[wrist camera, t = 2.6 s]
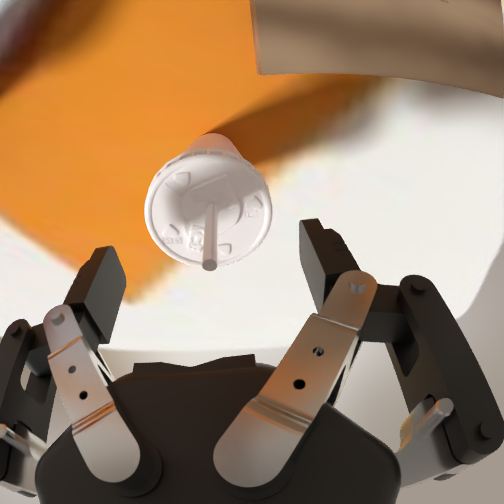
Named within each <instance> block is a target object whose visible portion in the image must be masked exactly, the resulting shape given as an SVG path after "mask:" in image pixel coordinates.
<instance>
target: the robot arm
mask: <svg viewBox="0 0 504 504" xmlns="http://www.w3.org/2000/svg"><path fill="white" fill-rule="evenodd" d="M299 252H300V261H301V265H302V268H303V271H304V274H305V277H306V280H307V282H308V285H309V288H310V291H311V294H312V297H313V300H314V303H315V306H316V309H317V312H318V314H316V313H312V314H311V315H310V317H309V318H308V320H307V321H306V323H305V325H304V326H303V328H302V329H301V331H300V332H299V334H298V336H297V337H296V339H295V340H294V342H293V343H292V345H291V347H290V348H289V350H288V351H287V353H286V354H285V356H284V357H283V359H282V360H281V362H280V364H279V365H278V366H277V367H274V366H271V365H268V364H263V363H256V361H255V355H254V354H250V355H241V356H232V357H223V358H220V359H217V360H213V361H210V362H207V363H204V364H200V365H197V366H193V367H187V366H181V365H174V364H169V363H163V362H155V363H134V367H133V372H132V373H129V374H126V375H124V376H122V377H120V378H118V379H117V380H115V378H114V377H113V375H112V373H111V371H110V370H109V368H108V366H107V364H106V362H105V361H104V359H103V357H102V355H101V353H100V352H99V350H98V349H97V348H98V345H99V344H109V342H110V338H111V335H112V331H113V328H114V324H115V321H116V317H117V314H118V310H119V307H120V304H121V301H122V297H123V294H124V291H125V288H126V276H125V273H124V270H123V268H122V266H121V263H120V261H119V258H118V256H117V253H116V251H115V249H114V247H113V246H106V247H100V248H96V249H95V251H94V252H93V254H92V256H91V258H90V260H88V261H87V262H86V263H85V264H84V265H83V266H82V267H81V268H80V270H79V272H78V274H77V276H76V278H75V280H74V282H73V284H72V286H71V288H70V290H69V292H68V294H67V296H66V298H65V300H64V302H63V305H58V306H56V307H54V308H53V309H51V310H50V311H49V312H48V313H47V314H46V316H45V318H44V320H43V323H42V324H39V325H36V326H33V327H31V326H30V325H29V323H28V322H27V321H26V320H25V319H19V320H16V321H15V322H13V323H12V324H11V325H10V326H9V327H8V328H7V330H6V332H5V334H4V336H3V338H2V341H1V343H0V485H1V486H3V487H5V488H7V489H9V490H11V491H14V492H18V493H20V494H23V495H25V496H27V497H35V496H37V495H38V497H39V500H40V504H395V502H396V499H397V495H398V493H399V491H400V490H403V489H406V488H409V487H412V486H415V485H418V484H421V483H423V482H426V481H428V480H431V479H434V480H446V479H448V478H450V477H452V476H454V475H456V474H458V473H459V472H461V471H463V470H465V469H467V468H468V467H470V466H472V465H473V464H475V463H477V462H478V461H480V460H482V459H483V458H485V457H487V456H488V455H490V454H491V453H493V452H494V451H495V450H497V449H498V448H499V447H500V446H501V444H502V442H503V440H504V420H503V418H502V415H501V413H500V410H499V408H498V406H497V403H496V401H495V398H494V396H493V394H492V392H491V389H490V387H489V385H488V382H487V380H486V378H485V376H484V374H483V372H482V370H481V368H480V366H479V363H478V361H477V360H476V357H475V355H474V353H473V352H472V350H471V348H470V346H469V344H468V342H467V340H466V338H465V336H464V335H463V333H462V331H461V329H460V327H459V326H458V324H457V322H456V320H455V319H454V317H453V315H452V313H451V312H450V310H449V308H448V307H447V305H446V303H445V302H444V300H443V298H442V297H441V295H440V293H439V292H438V290H437V289H436V287H435V285H434V284H433V283H432V282H431V281H430V280H429V279H427V278H425V277H423V276H420V275H409V276H406V277H404V278H403V279H402V280H401V282H400V285H399V286H392V285H381V284H377V282H376V280H375V279H374V277H373V276H371V275H370V274H368V273H366V272H363V271H361V270H360V268H359V266H358V265H357V263H356V261H355V259H354V258H353V256H352V254H351V252H350V251H349V250H348V247H347V245H346V244H345V242H344V240H343V239H342V237H341V235H340V234H338V233H337V232H336V231H334V230H333V229H324V228H323V226H322V225H321V223H320V221H319V219H318V218H315V219H307V220H300V222H299ZM363 341H367V342H382V343H383V342H384V343H385V344H386V347H387V350H388V353H389V355H390V358H391V361H392V363H393V366H394V369H395V372H396V375H397V377H398V380H399V383H400V386H401V389H402V392H403V395H404V398H405V401H406V405H407V408H408V411H409V414H410V415H409V416H408V417H407V418H406V419H405V421H404V422H403V424H402V426H401V429H400V440H401V443H400V448H399V450H398V452H396V453H393V451H392V450H391V449H390V448H389V447H388V446H387V445H386V444H385V443H383V442H382V441H380V440H379V439H377V438H376V437H375V436H373V435H372V434H370V433H369V432H367V431H366V430H364V429H363V428H362V427H360V426H359V425H357V424H356V423H355V422H353V421H352V420H350V419H349V418H348V417H346V416H345V415H343V414H342V413H341V412H339V411H338V410H337V409H335V408H334V406H335V404H336V402H337V400H338V398H339V396H340V394H341V391H342V389H343V387H344V384H345V382H346V379H347V377H348V375H349V372H350V370H351V368H352V366H353V363H354V361H355V359H356V357H357V355H358V352H359V350H360V347H361V345H362V343H363ZM24 365H26V366H27V367H28V368H29V369H30V370H31V373H30V376H29V380H28V383H27V387H26V390H24V389H23V388H22V386H21V382H20V378H21V374H22V371H23V368H24ZM56 389H58V391H59V394H60V397H61V400H62V402H63V405H64V407H65V409H66V412H67V415H68V417H69V419H70V421H71V425H70V426H69V427H68V428H67V429H66V430H65V432H63V434H62V435H61V436H60V437H59V438H58V439H57V440H56V441H55V442H54V443H53V444H52V445H51V446H50V447H49V448H48V449H47V446H46V441H47V434H48V429H49V423H50V418H51V412H52V408H53V403H54V398H55V394H56Z"/></svg>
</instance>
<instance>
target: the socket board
mask: <svg viewBox="0 0 504 504" xmlns="http://www.w3.org/2000/svg"><path fill="white" fill-rule="evenodd" d="M250 8H251V16H252V25H253V35H254V44H255V54H256V64H257V74H260V75H276V74H300V73H339V74H362V75H376V76H388V77H397V78H406V79H414V80H421V81H427V82H433V83H439V84H445V85H450V86H455V87H460V88H464V89H469V90H473V91H477V92H481V93H485V94H489V95H492V96H496V97H500V98H504V28H503V16H502V7H501V0H250Z"/></svg>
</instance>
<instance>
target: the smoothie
mask: <svg viewBox="0 0 504 504" xmlns="http://www.w3.org/2000/svg"><path fill="white" fill-rule="evenodd" d="M144 213H145V221H146V225H147V228H148V231H149V233H150V235H151V237H152V238H153V240H154V241H155V243H156V244H157V245H158V246H159V247H160V248H161V249H162V250H163V251H164V252H165V253H166V254H168V255H169V256H171V257H172V258H174V259H176V260H178V261H180V262H182V263H185V264H188V265H192V266H197V267H203V269H205V270H207V271H213V270H215V269H216V268H217V267H221V266H225V265H229V264H232V263H235V262H237V261H239V260H241V259H243V258H245V257H247V256H248V255H249V254H251V253H252V252H253V251H254V250H255V249H256V248H257V247H258V246H259V245H260V244H261V243H262V241H263V240H264V238H265V237H266V235H267V233H268V231H269V228H270V225H271V220H272V203H271V198H270V193H269V189H268V186H267V184H266V182H265V180H264V178H263V177H262V175H261V173H260V172H259V171H258V170H257V169H256V168H255V167H254V166H253V165H252V164H251V163H250V162H249V161H247V160H246V159H244V158H243V157H242V156H241V154H240V153H239V152H238V150H237V149H236V147H235V146H234V144H233V143H232V142H231V141H230V140H229V139H228V138H227V137H225V136H224V135H221V134H217V133H208V134H204V135H202V136H200V137H198V138H197V139H196V140H195V141H194V142H193V143H192V144H191V145H190V146H189V147H188V148H187V149H186V150H185V151H184V152H183V153H182V154H180V155H178V156H177V157H175V158H173V159H172V160H170V161H169V162H167V163H166V164H165V165H164V166H163V167H162V168H161V169H160V170H159V172H158V173H157V174H156V175H155V177H154V179H153V181H152V183H151V185H150V187H149V189H148V194H147V197H146V201H145V211H144Z"/></svg>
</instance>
